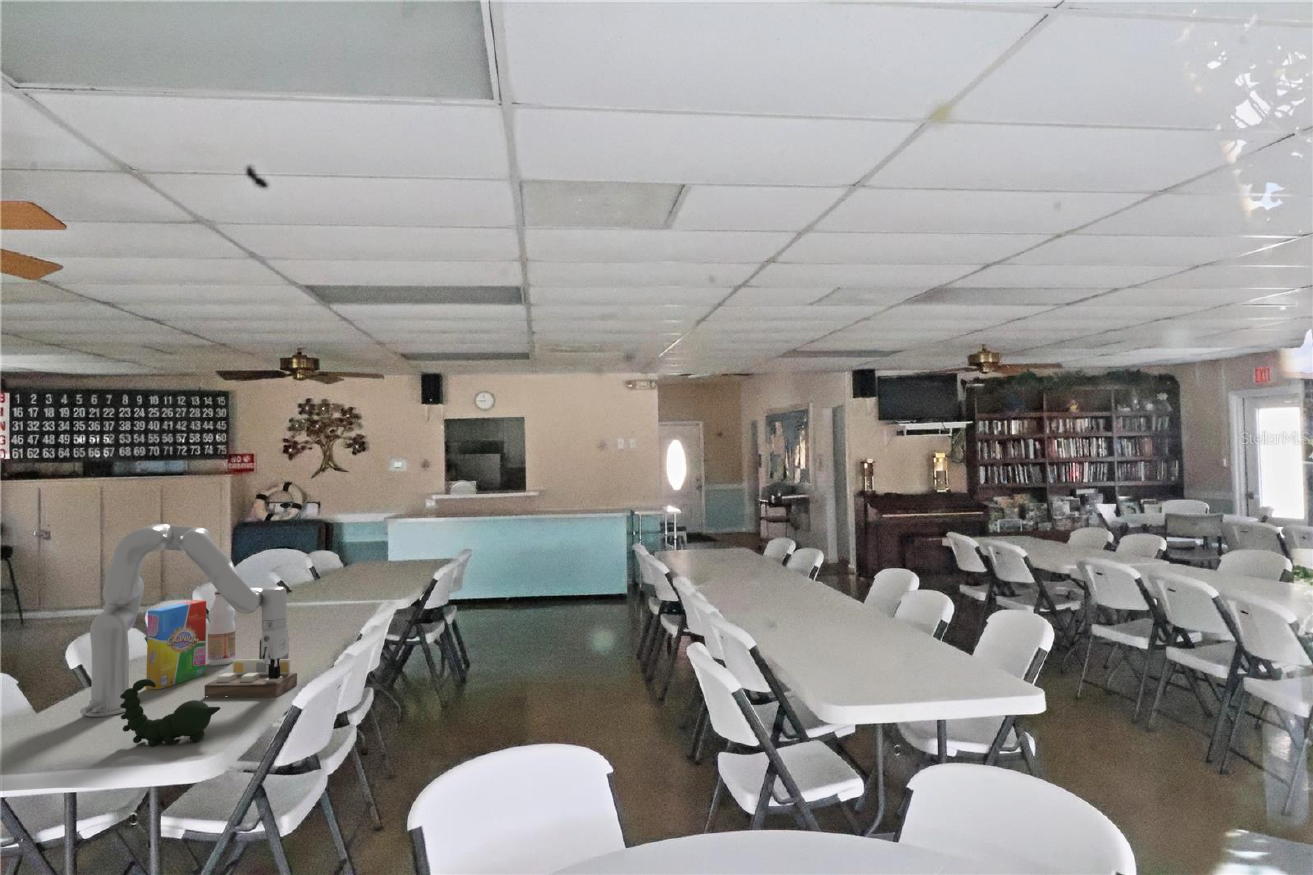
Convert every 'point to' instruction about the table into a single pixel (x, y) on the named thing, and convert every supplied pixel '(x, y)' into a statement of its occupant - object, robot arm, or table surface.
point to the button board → (251, 687)
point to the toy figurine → (180, 723)
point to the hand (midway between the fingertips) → (274, 678)
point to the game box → (176, 643)
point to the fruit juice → (221, 632)
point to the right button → (273, 679)
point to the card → (258, 666)
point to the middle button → (250, 677)
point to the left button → (227, 677)
